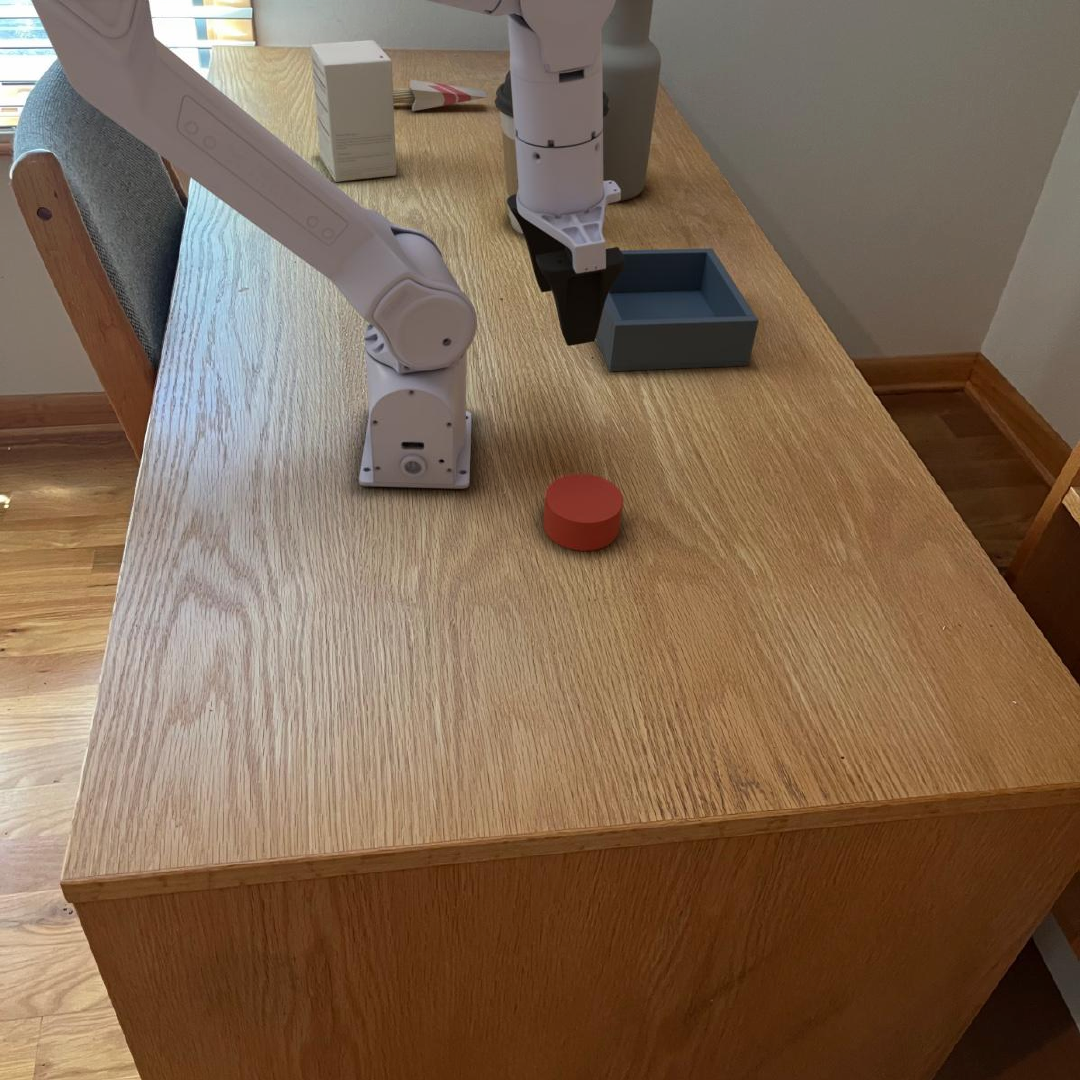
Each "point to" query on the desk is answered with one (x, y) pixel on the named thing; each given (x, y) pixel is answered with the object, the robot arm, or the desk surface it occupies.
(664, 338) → the bin
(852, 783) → the desk surface
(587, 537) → the red cylinder
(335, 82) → the white packaging box
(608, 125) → the water bottle
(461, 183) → the desk surface
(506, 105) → the coffee cup
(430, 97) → the paintbrush
